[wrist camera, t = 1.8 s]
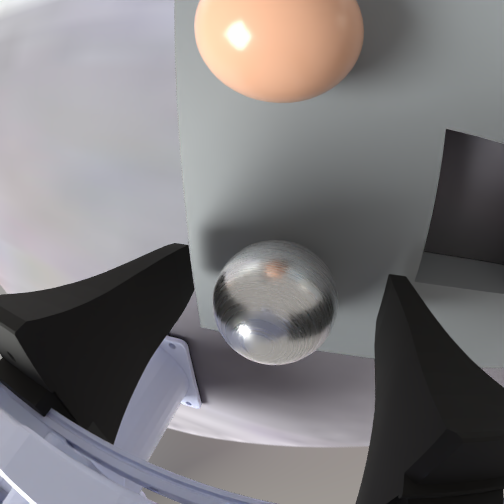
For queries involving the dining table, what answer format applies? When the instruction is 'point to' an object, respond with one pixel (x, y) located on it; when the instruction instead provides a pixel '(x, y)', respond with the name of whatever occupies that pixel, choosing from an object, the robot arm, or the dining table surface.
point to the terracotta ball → (279, 45)
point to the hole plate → (351, 167)
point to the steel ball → (275, 302)
